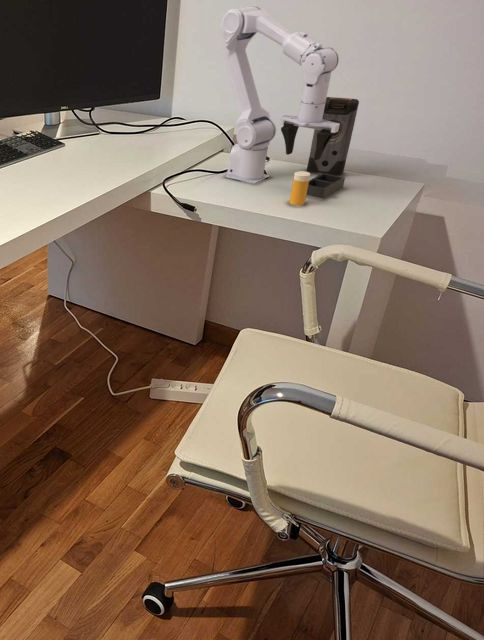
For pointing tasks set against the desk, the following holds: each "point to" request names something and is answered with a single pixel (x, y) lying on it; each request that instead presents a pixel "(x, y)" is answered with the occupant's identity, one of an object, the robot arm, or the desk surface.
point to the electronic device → (334, 137)
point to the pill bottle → (299, 188)
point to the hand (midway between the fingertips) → (302, 156)
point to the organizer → (324, 185)
